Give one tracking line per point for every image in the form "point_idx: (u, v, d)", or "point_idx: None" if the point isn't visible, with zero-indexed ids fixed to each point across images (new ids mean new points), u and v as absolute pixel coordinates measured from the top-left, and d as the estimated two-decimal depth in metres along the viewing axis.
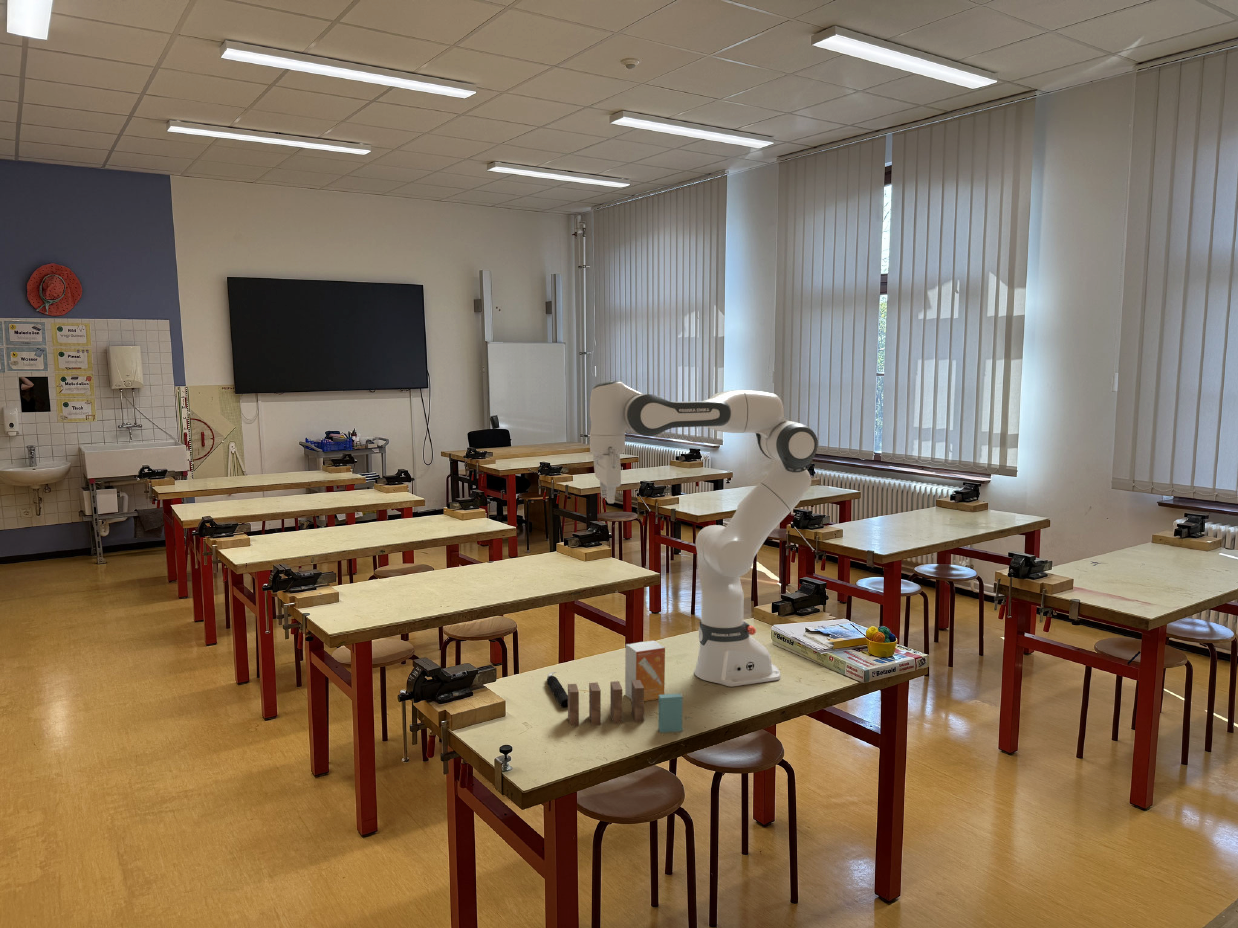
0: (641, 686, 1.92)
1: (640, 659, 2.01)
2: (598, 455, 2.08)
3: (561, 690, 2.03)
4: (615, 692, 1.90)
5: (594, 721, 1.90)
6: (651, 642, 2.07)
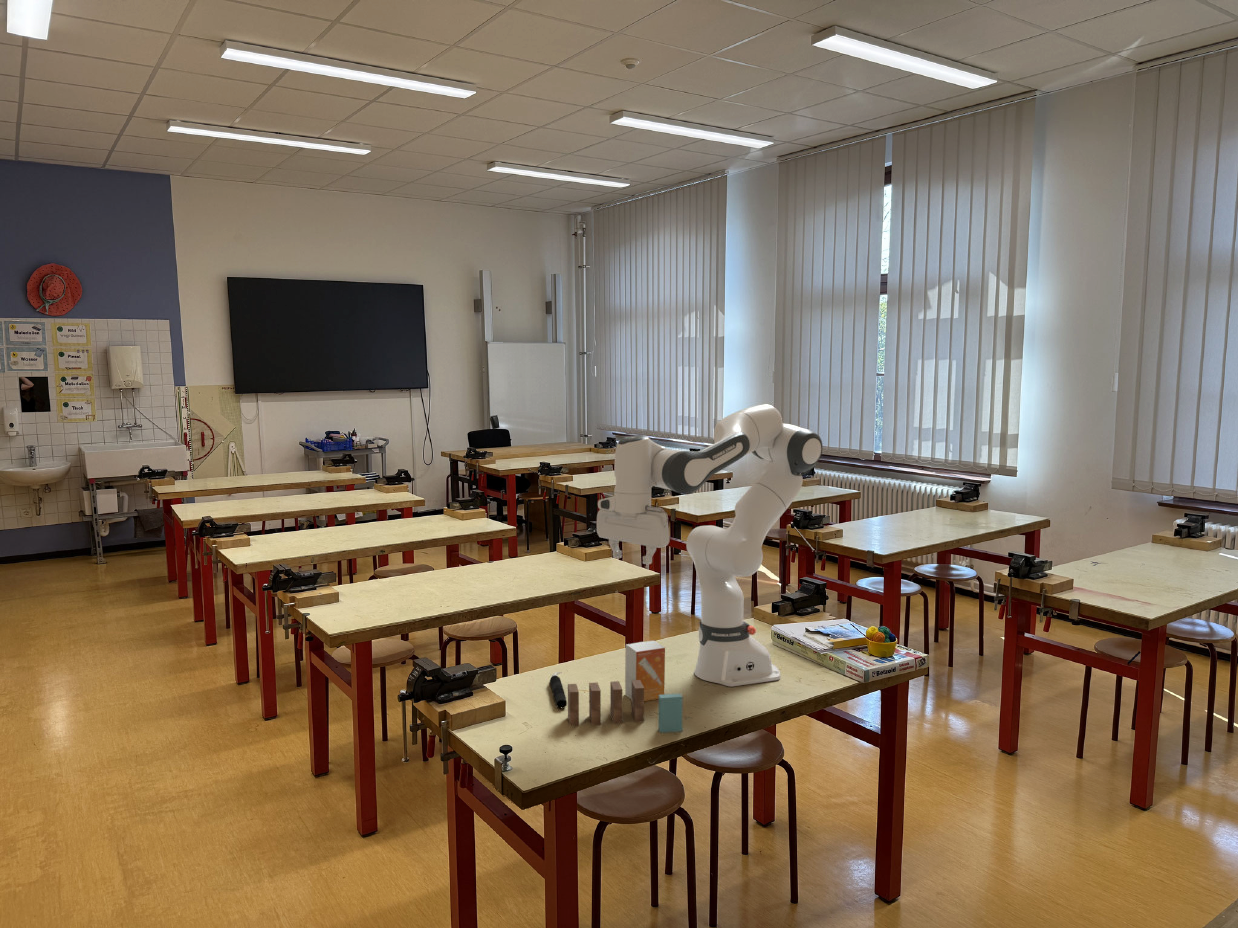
0: (641, 686, 1.92)
1: (640, 659, 2.01)
2: (631, 515, 1.96)
3: (559, 690, 2.03)
4: (615, 692, 1.90)
5: (594, 721, 1.90)
6: (651, 642, 2.07)
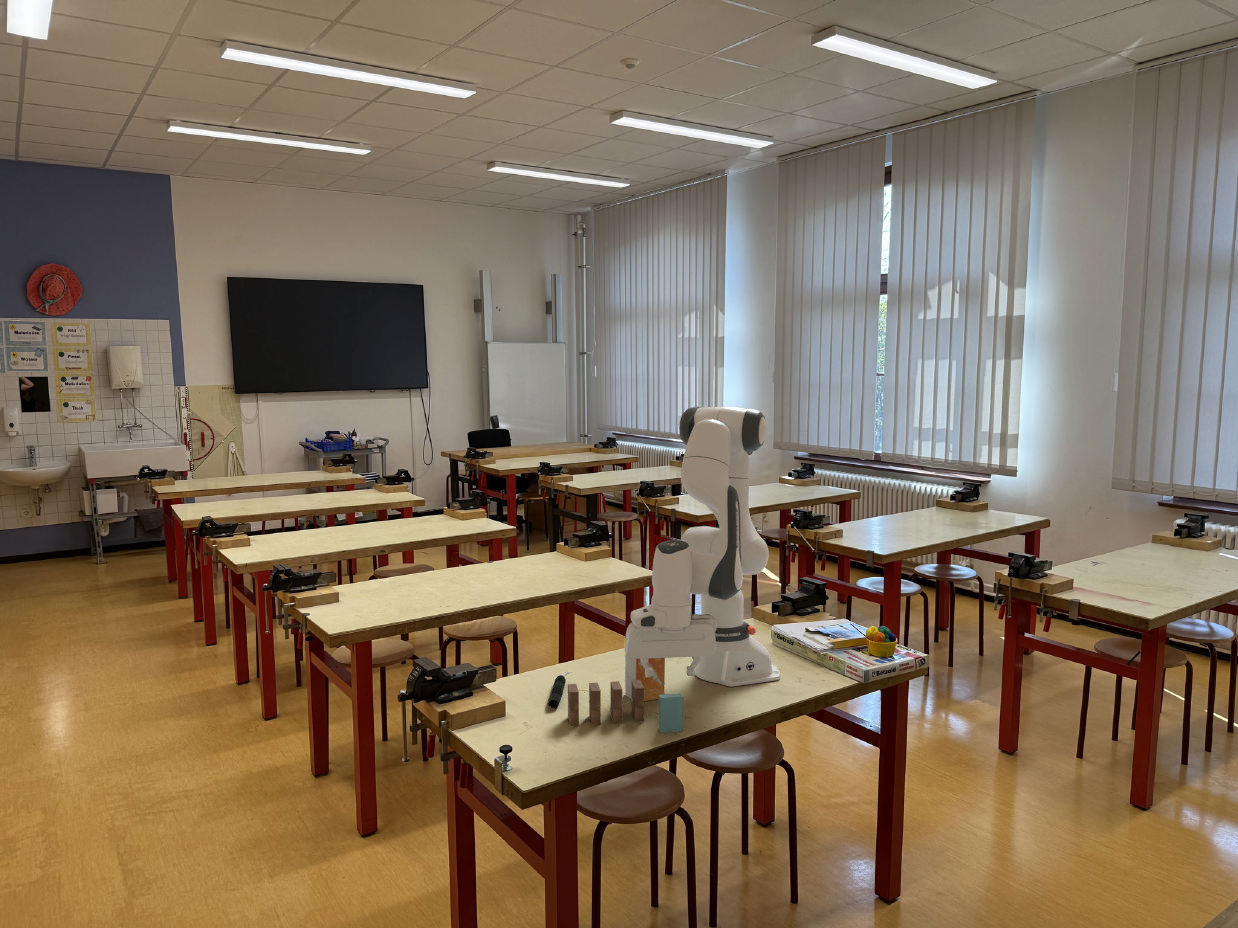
0: (641, 686, 1.92)
1: None
2: (681, 627, 1.82)
3: (556, 690, 2.03)
4: (615, 692, 1.90)
5: (594, 721, 1.90)
6: None
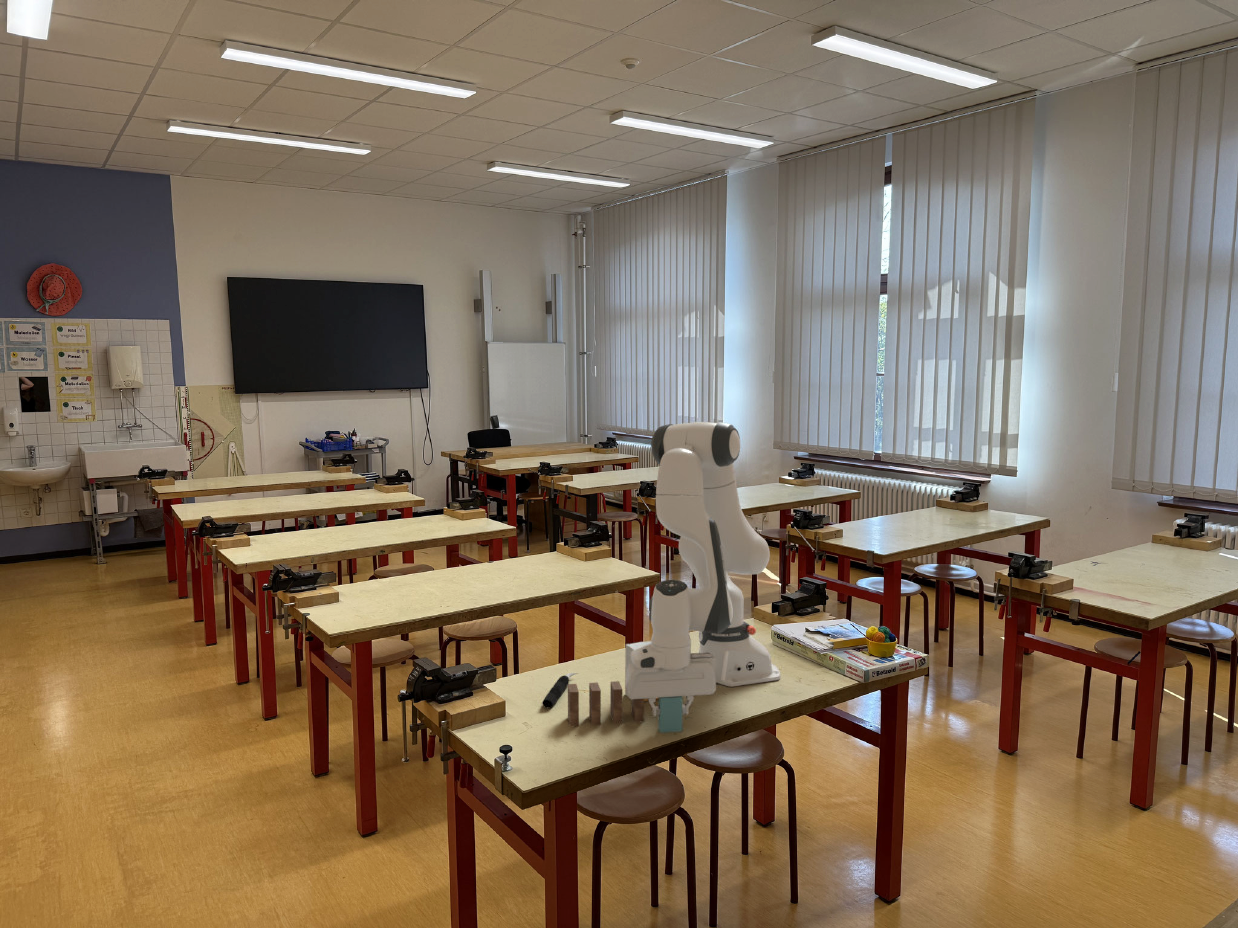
0: None
1: None
2: (681, 667, 1.83)
3: (553, 690, 2.03)
4: (615, 692, 1.90)
5: (594, 721, 1.90)
6: None
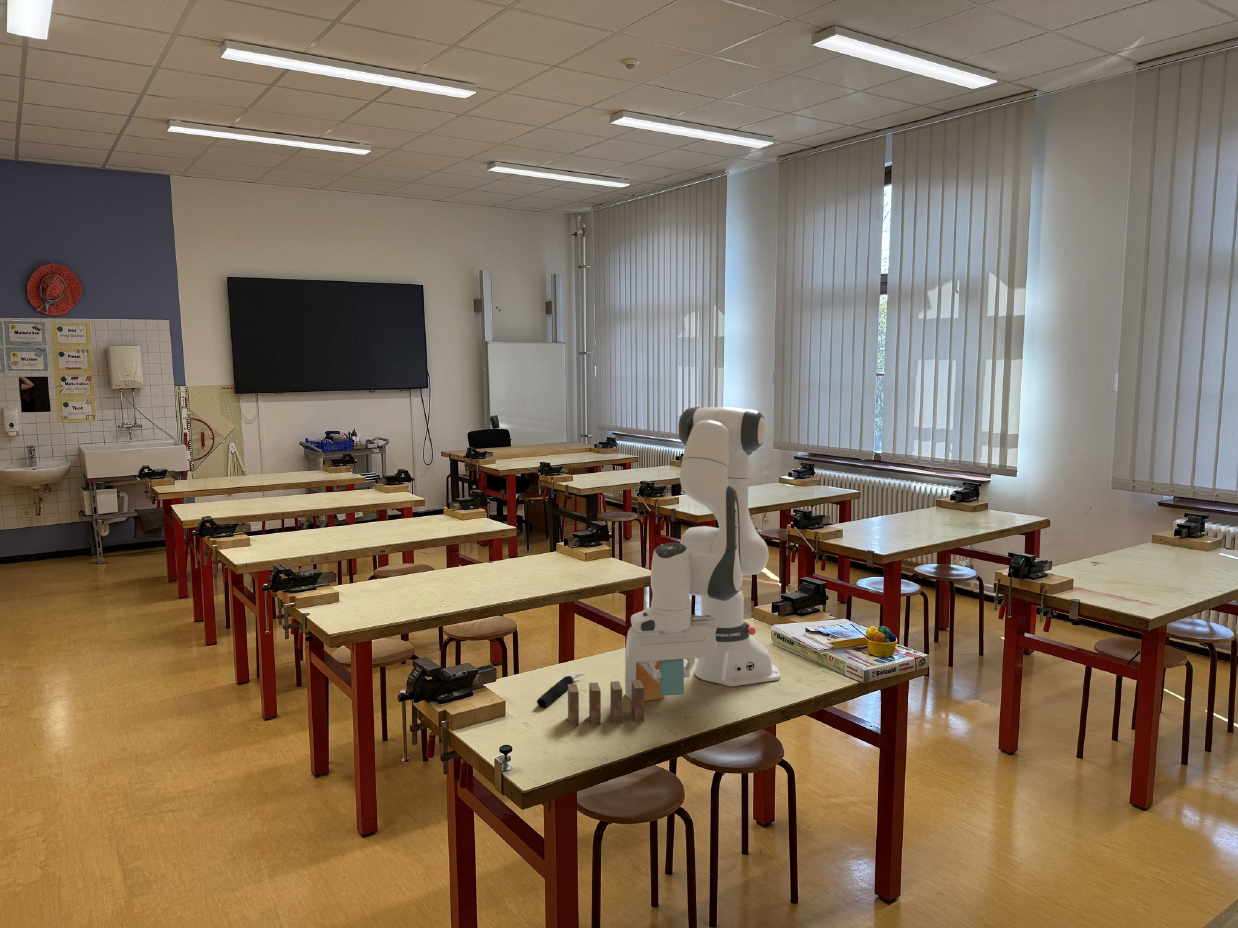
0: (641, 686, 1.92)
1: None
2: (681, 630, 1.82)
3: (550, 690, 2.03)
4: (615, 692, 1.90)
5: (594, 721, 1.90)
6: None
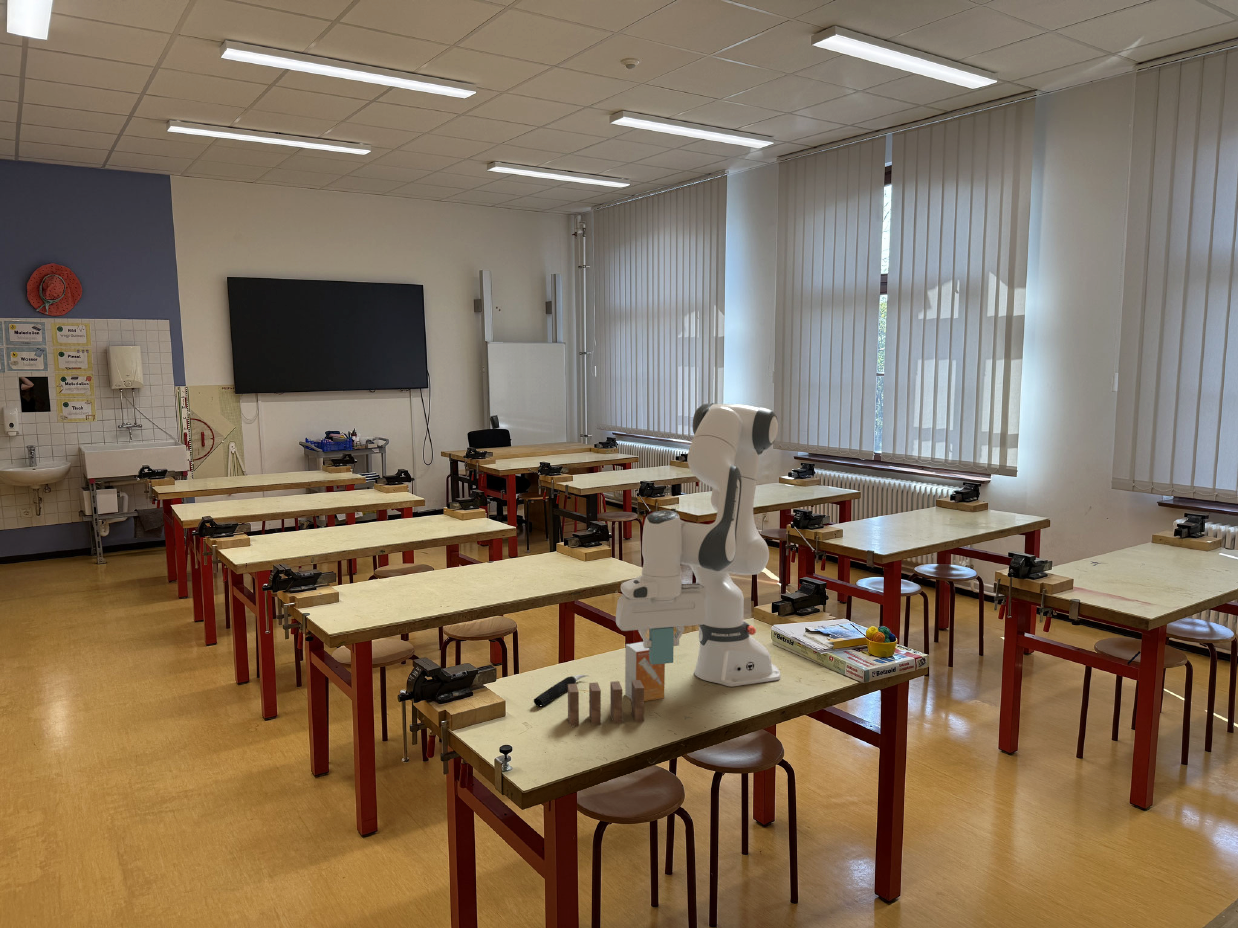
0: (641, 686, 1.92)
1: (640, 659, 2.01)
2: (673, 597, 1.82)
3: (549, 690, 2.03)
4: (615, 692, 1.90)
5: (594, 721, 1.90)
6: None
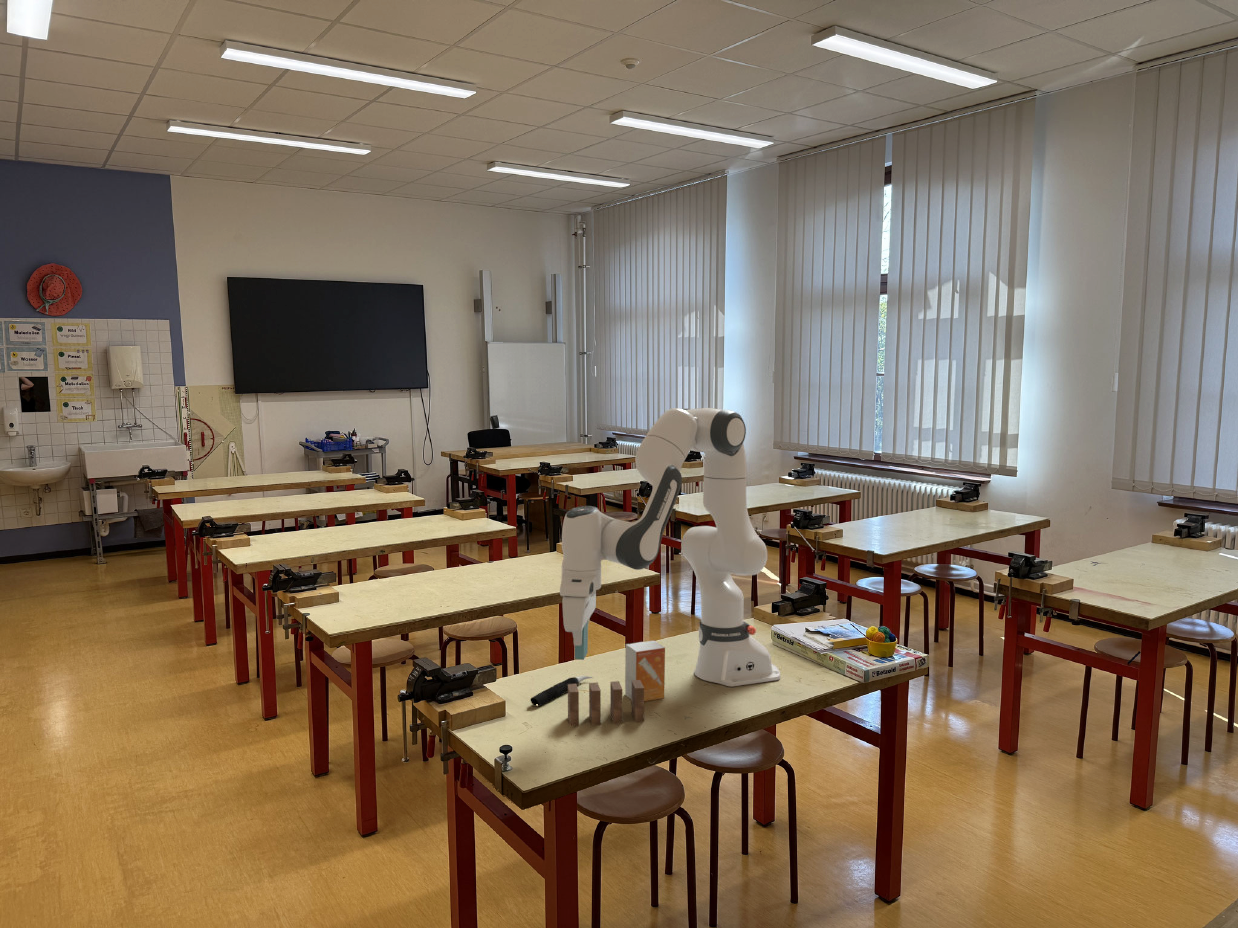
0: (641, 686, 1.92)
1: (640, 659, 2.01)
2: None
3: (547, 690, 2.04)
4: (615, 692, 1.90)
5: (594, 721, 1.90)
6: (651, 642, 2.07)
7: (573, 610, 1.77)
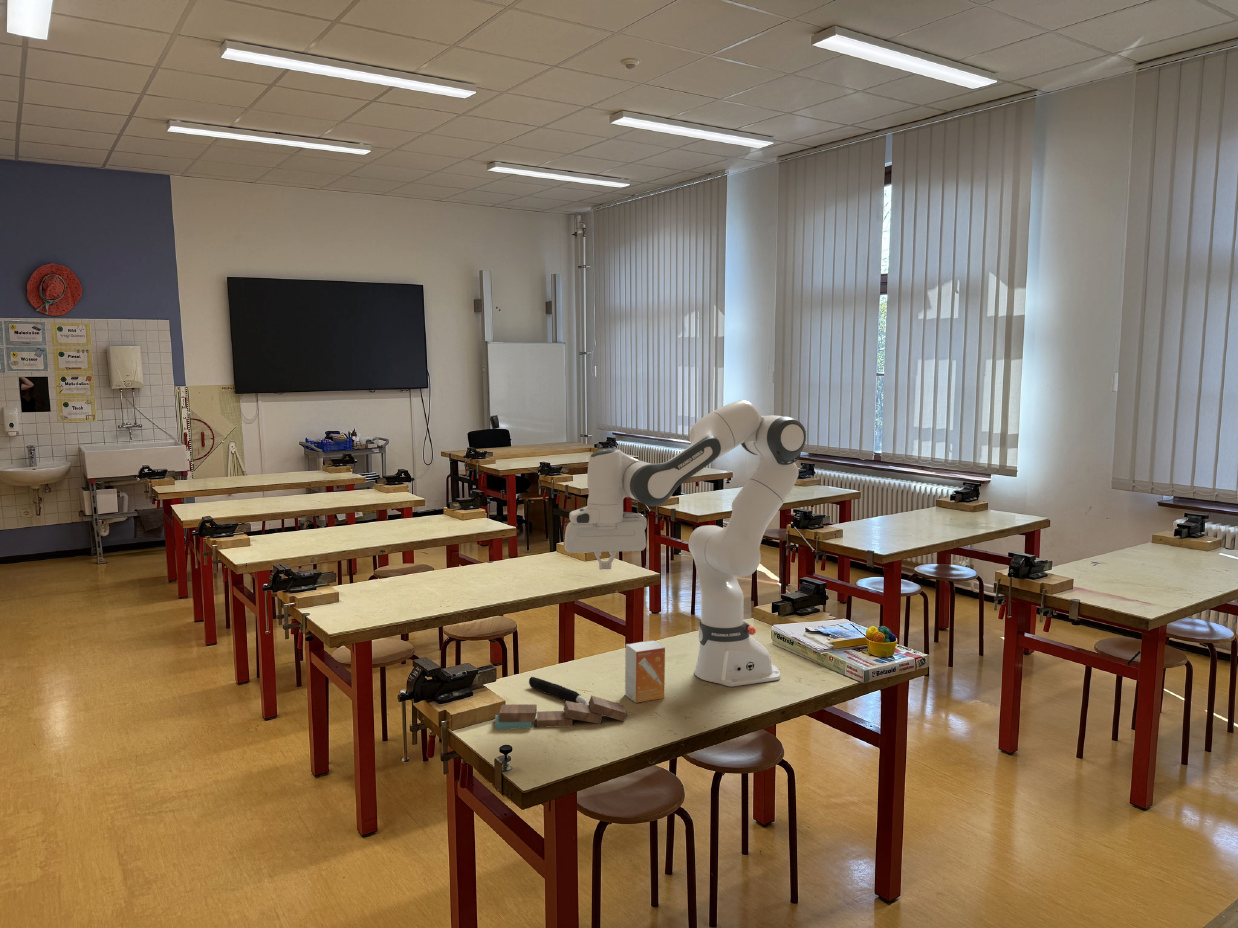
0: (593, 703, 1.91)
1: (640, 659, 2.01)
2: (613, 524, 2.04)
3: (545, 681, 2.09)
4: (569, 716, 1.89)
5: (569, 725, 1.89)
6: (651, 642, 2.07)
7: (566, 532, 2.05)
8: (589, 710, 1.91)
